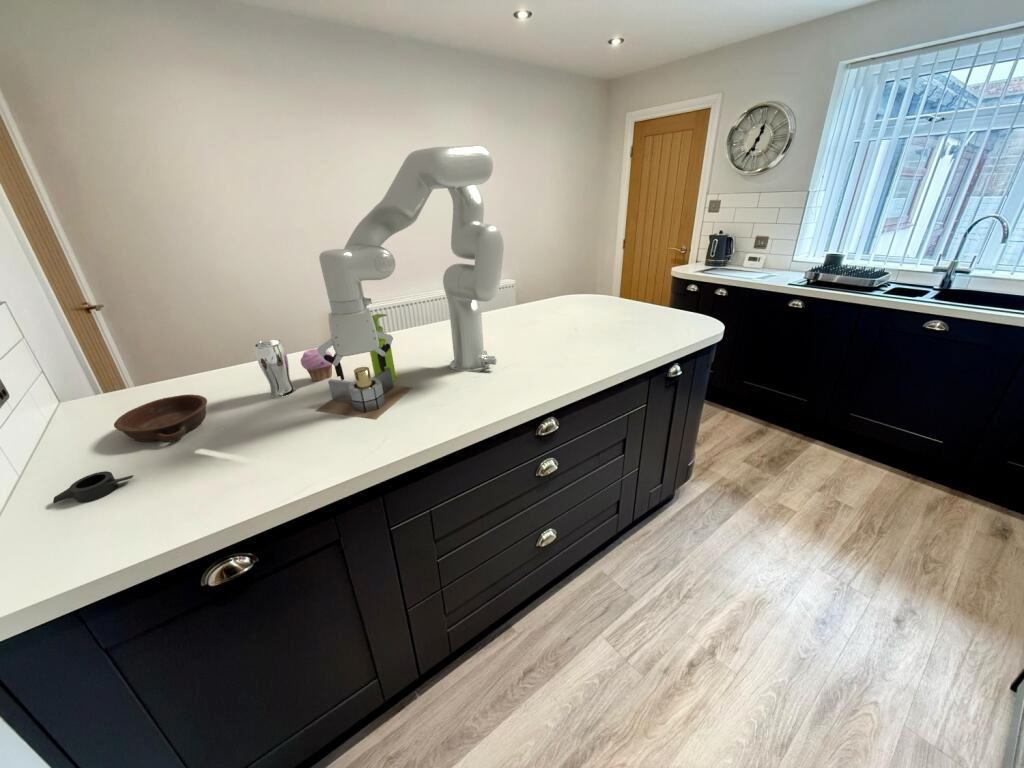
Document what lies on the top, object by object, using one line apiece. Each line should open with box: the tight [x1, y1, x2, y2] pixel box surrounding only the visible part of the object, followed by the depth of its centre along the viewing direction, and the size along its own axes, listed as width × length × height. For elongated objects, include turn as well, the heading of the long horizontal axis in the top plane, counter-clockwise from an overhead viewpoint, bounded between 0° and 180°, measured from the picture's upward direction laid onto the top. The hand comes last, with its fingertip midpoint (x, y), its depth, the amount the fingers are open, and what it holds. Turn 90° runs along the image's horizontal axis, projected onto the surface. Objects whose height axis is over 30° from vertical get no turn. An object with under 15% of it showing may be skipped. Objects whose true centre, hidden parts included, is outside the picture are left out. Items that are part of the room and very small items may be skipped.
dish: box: [113, 394, 208, 443], centre depth 95 cm, size 18×22×5 cm
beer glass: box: [253, 338, 296, 398], centre depth 108 cm, size 7×7×15 cm
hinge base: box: [314, 384, 414, 421], centre depth 104 cm, size 18×18×1 cm
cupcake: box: [300, 348, 334, 383], centre depth 116 cm, size 9×9×10 cm
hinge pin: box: [353, 366, 373, 389], centre depth 99 cm, size 4×4×10 cm
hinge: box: [327, 368, 394, 413], centre depth 103 cm, size 15×15×6 cm
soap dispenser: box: [369, 313, 397, 381], centre depth 112 cm, size 6×7×20 cm
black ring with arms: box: [52, 470, 135, 504], centre depth 74 cm, size 8×10×3 cm
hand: (362, 373), depth 97 cm, fingers open, 9 cm apart
